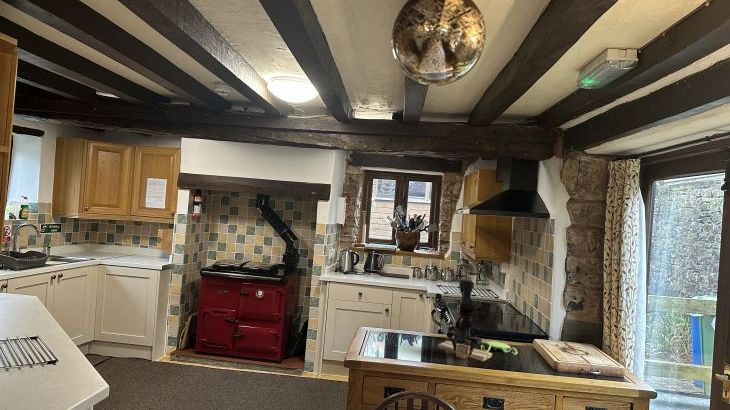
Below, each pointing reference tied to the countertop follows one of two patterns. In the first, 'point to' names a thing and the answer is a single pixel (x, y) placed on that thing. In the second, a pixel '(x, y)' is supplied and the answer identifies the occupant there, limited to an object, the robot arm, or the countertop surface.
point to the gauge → (462, 351)
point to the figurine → (498, 346)
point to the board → (475, 354)
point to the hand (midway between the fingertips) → (462, 353)
